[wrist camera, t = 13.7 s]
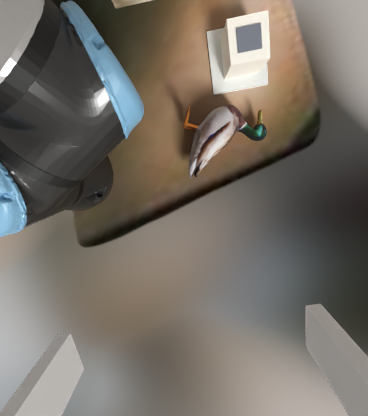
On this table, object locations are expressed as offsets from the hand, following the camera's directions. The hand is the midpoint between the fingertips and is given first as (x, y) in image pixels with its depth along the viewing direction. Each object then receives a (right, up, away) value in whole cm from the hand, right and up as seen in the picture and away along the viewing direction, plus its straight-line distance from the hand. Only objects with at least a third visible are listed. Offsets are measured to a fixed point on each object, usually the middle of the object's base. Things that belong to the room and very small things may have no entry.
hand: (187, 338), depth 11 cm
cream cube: (+10, +34, +24) cm, 43 cm away
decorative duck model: (+7, +20, +29) cm, 36 cm away
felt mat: (+10, +34, +25) cm, 43 cm away
